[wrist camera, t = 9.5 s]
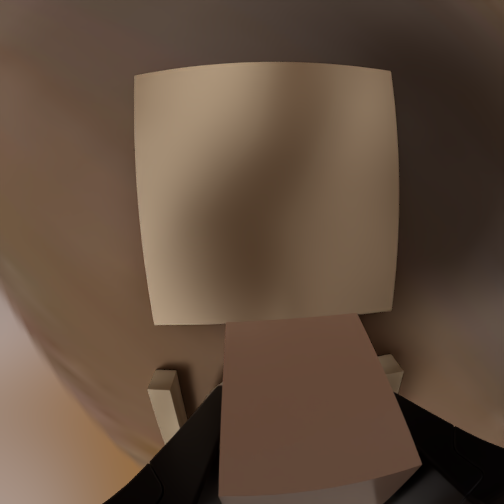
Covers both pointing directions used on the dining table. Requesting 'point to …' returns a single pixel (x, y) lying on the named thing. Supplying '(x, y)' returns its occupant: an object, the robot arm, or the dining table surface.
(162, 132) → the coaster
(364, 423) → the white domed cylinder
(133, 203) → the dining table surface
